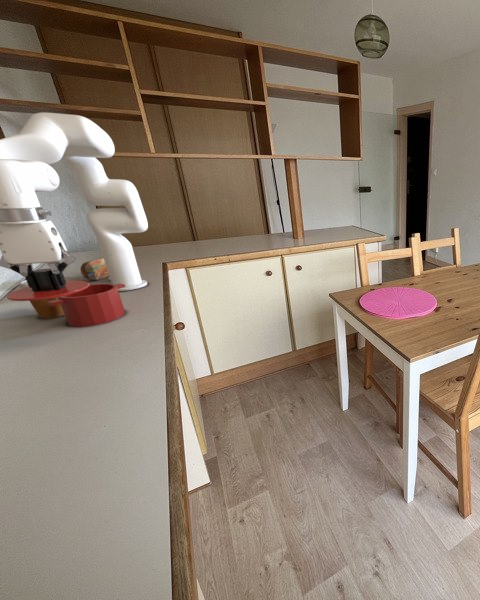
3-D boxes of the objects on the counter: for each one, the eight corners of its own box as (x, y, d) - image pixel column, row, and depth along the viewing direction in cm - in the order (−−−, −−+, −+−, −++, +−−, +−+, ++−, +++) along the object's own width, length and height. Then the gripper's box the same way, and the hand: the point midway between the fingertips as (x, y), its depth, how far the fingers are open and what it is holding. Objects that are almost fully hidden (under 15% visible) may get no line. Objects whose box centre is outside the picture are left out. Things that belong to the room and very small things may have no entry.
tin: (90, 282, 134) (83, 263, 131) (82, 282, 134) (75, 263, 131) (119, 272, 148) (114, 255, 145) (113, 272, 148) (107, 255, 145)
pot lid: (-6, 298, 77) (-17, 274, 74) (69, 281, 89) (61, 261, 87) (28, 306, 72) (18, 281, 70) (102, 288, 85) (95, 266, 83)
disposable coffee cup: (32, 314, 103) (17, 279, 99) (73, 307, 110) (60, 274, 105) (32, 323, 97) (16, 286, 93) (75, 314, 104) (62, 280, 99)
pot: (46, 325, 96) (34, 297, 92) (116, 304, 113) (108, 279, 109) (74, 333, 92) (62, 303, 88) (142, 310, 108) (135, 284, 105)
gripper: (74, 213, 80) (97, 281, 87) (-20, 215, 74) (13, 288, 80) (60, 216, 74) (86, 289, 81) (-44, 218, 67) (-6, 297, 74)
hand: (49, 288), depth 80 cm, fingers closed on pot lid, 3 cm apart
